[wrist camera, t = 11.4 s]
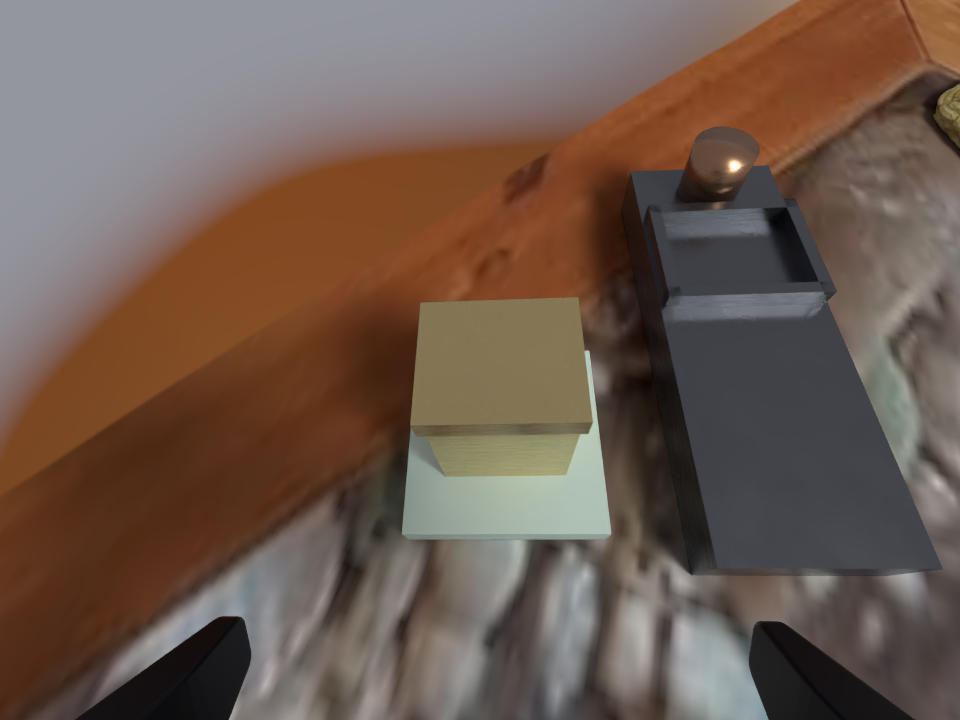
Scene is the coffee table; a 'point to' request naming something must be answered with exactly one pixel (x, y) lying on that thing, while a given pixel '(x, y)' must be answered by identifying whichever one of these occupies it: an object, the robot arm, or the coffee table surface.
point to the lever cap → (501, 386)
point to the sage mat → (508, 497)
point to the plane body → (760, 380)
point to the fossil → (949, 113)
